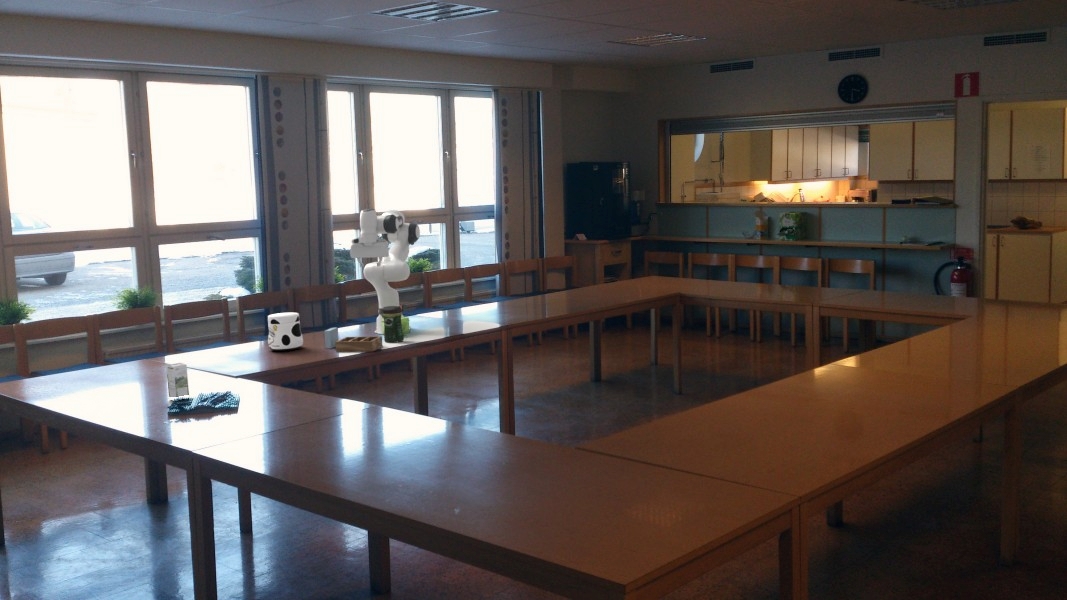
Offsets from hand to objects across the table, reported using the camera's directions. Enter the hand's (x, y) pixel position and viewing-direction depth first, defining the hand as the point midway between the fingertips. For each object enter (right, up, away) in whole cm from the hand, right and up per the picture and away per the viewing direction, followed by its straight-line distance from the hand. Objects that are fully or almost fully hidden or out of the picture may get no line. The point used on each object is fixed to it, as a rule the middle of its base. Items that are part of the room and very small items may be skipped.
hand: (370, 266), depth 493 cm
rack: (-2, -42, -19) cm, 46 cm away
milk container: (-41, -43, -10) cm, 60 cm away
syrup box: (-57, -58, -114) cm, 139 cm away
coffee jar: (+13, -39, -2) cm, 41 cm away
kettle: (+11, -37, +15) cm, 41 cm away
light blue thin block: (-18, -41, -8) cm, 46 cm away
